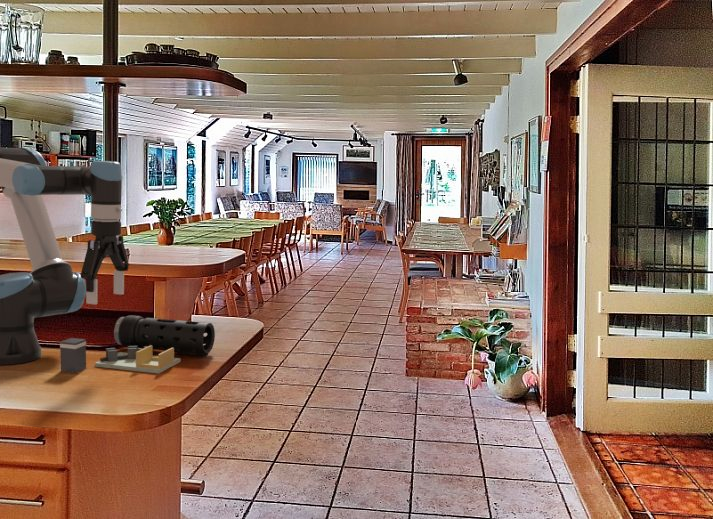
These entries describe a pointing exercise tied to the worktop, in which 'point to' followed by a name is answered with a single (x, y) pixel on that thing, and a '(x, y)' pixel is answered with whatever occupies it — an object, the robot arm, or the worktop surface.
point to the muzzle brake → (165, 334)
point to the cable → (118, 358)
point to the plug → (73, 355)
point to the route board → (130, 361)
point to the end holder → (154, 358)
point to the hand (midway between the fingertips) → (105, 298)
